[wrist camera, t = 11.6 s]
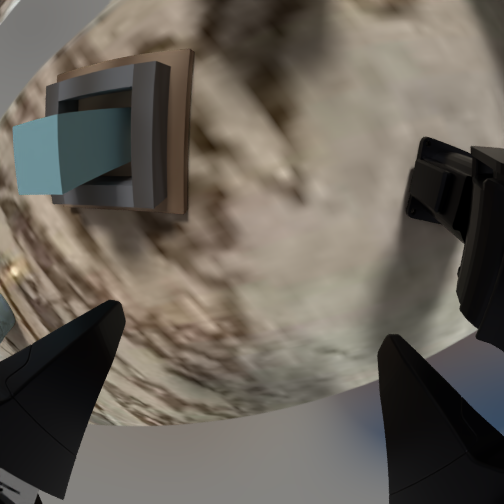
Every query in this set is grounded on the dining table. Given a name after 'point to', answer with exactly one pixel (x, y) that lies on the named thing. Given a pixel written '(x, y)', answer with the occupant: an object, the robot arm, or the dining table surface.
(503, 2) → the dining table surface
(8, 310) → the blue-green cup
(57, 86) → the socket block
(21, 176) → the peg
